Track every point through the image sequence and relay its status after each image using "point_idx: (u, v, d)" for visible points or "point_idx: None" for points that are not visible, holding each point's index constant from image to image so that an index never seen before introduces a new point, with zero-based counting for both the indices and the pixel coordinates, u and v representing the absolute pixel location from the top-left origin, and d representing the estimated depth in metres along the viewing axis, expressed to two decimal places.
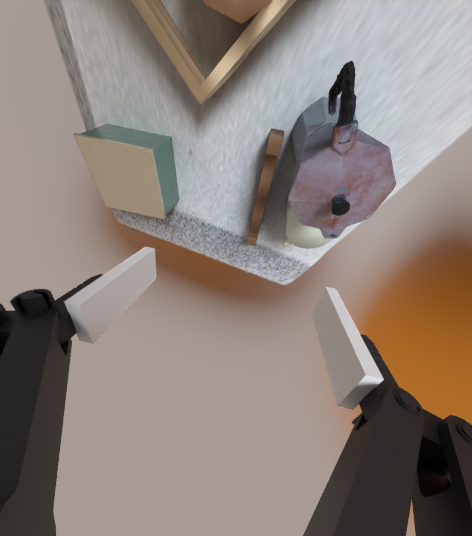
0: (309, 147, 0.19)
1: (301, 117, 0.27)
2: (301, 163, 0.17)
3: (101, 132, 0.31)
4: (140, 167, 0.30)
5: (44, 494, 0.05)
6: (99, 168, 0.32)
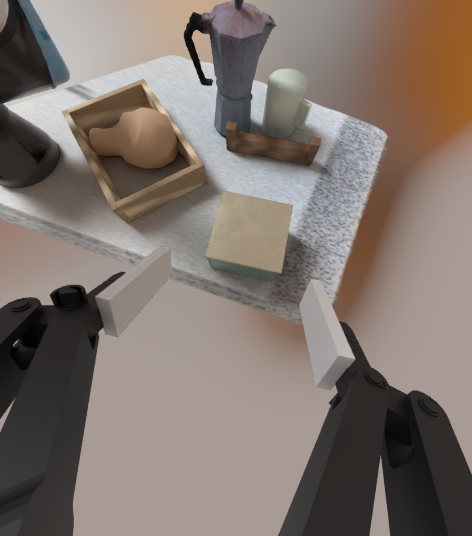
0: (219, 60, 0.33)
1: (221, 129, 0.44)
2: (219, 35, 0.29)
3: None
4: (236, 205, 0.32)
5: (66, 487, 0.05)
6: (235, 249, 0.30)
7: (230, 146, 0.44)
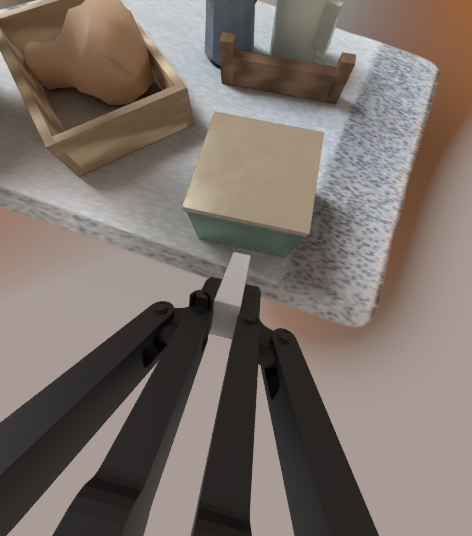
0: None
1: (213, 54, 0.32)
2: None
3: None
4: (234, 132, 0.20)
5: (152, 491, 0.05)
6: (233, 197, 0.18)
7: (226, 76, 0.32)
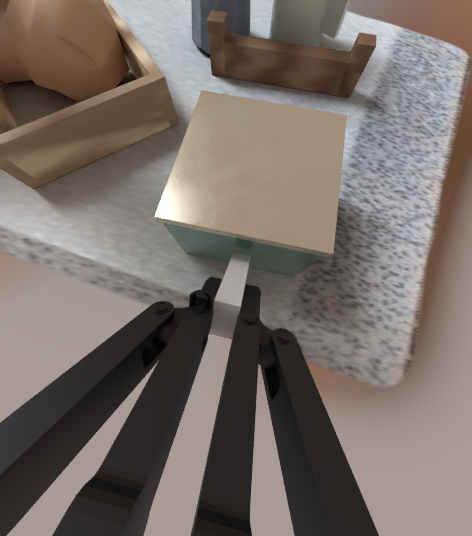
0: None
1: (202, 40, 0.27)
2: None
3: None
4: (228, 117, 0.15)
5: (152, 491, 0.05)
6: (225, 202, 0.13)
7: (217, 66, 0.26)
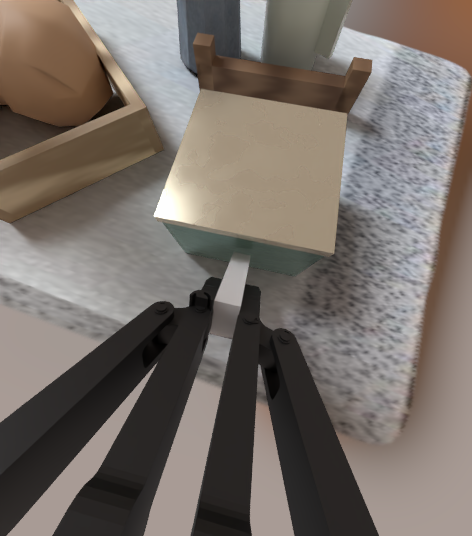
0: None
1: (190, 61, 0.26)
2: None
3: None
4: (228, 115, 0.15)
5: (152, 491, 0.05)
6: (225, 202, 0.13)
7: (206, 88, 0.25)
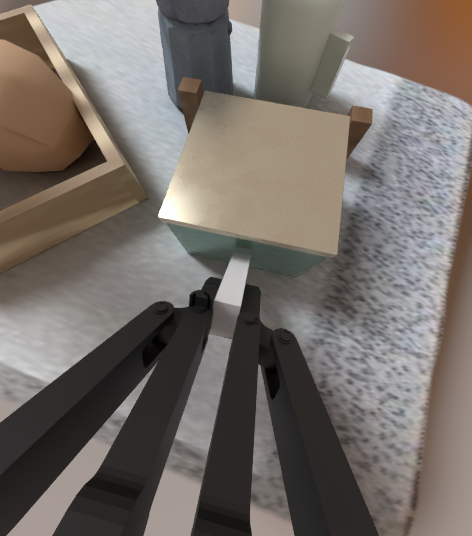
0: None
1: (178, 99, 0.24)
2: None
3: None
4: (231, 117, 0.15)
5: (152, 490, 0.05)
6: (229, 203, 0.13)
7: None
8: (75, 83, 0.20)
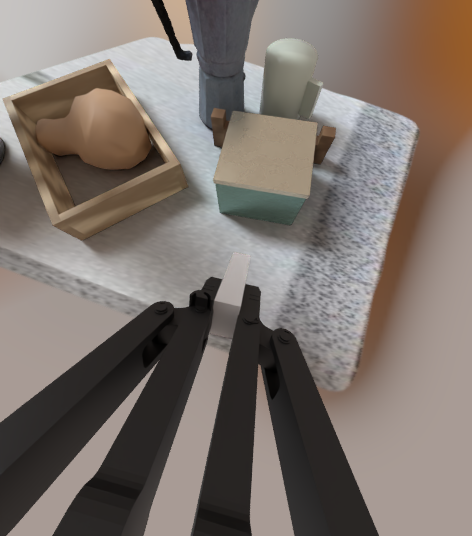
0: (196, 18, 0.24)
1: (207, 120, 0.35)
2: None
3: None
4: (249, 125, 0.27)
5: (153, 490, 0.05)
6: (251, 171, 0.24)
7: (218, 141, 0.34)
8: (144, 112, 0.31)
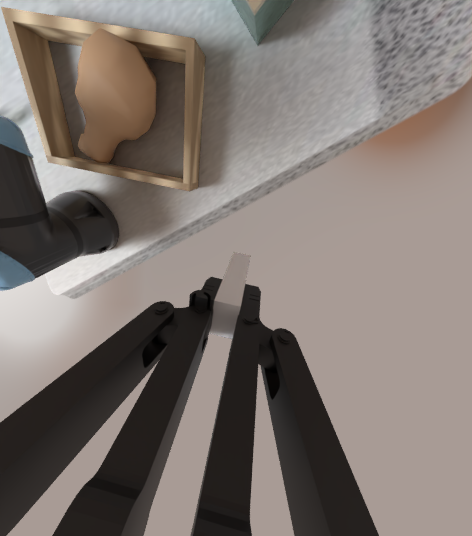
0: None
1: None
2: None
3: (246, 10, 0.24)
4: None
5: (152, 491, 0.05)
6: None
7: None
8: (107, 25, 0.26)
